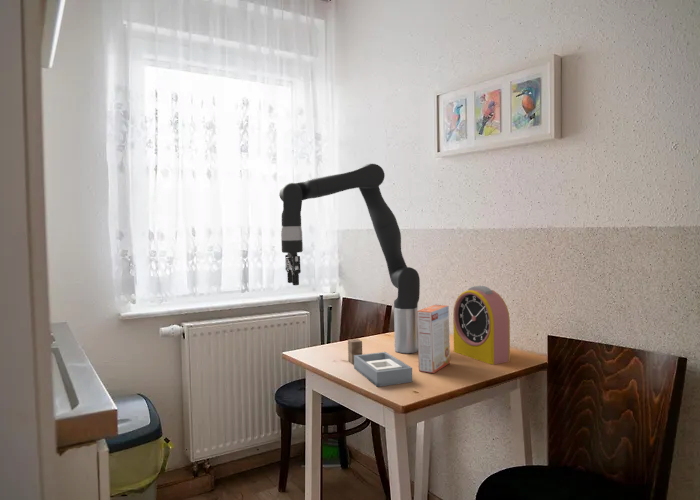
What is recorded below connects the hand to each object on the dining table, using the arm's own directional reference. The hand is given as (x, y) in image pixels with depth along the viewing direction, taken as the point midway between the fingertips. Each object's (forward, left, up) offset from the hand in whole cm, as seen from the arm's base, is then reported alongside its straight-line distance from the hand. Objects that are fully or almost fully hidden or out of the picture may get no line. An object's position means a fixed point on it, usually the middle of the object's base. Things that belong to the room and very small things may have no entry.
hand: (293, 284), depth 170 cm
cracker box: (-44, +24, -29) cm, 58 cm away
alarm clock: (-67, +18, -29) cm, 75 cm away
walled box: (-24, +24, -29) cm, 45 cm away
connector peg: (-21, +7, -29) cm, 36 cm away
